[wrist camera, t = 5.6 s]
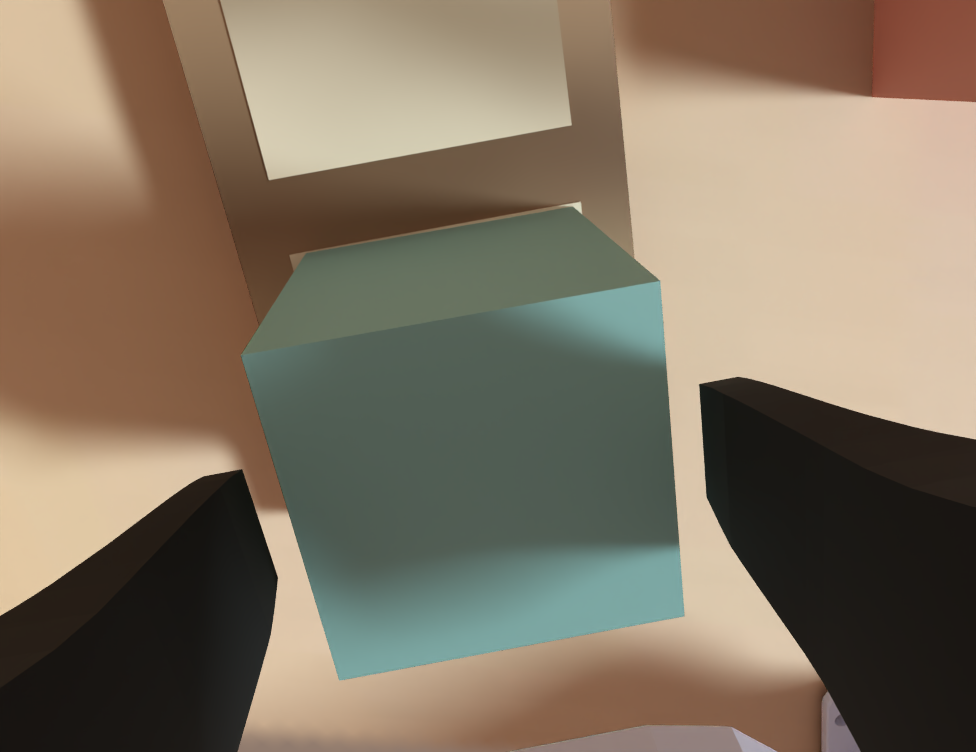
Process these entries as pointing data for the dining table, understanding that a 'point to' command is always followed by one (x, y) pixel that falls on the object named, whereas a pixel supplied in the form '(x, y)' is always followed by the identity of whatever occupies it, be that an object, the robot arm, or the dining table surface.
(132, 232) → the dining table surface
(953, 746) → the robot arm
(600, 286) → the teal block
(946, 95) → the brick block
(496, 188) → the walnut base plate
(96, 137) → the dining table surface
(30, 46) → the dining table surface
